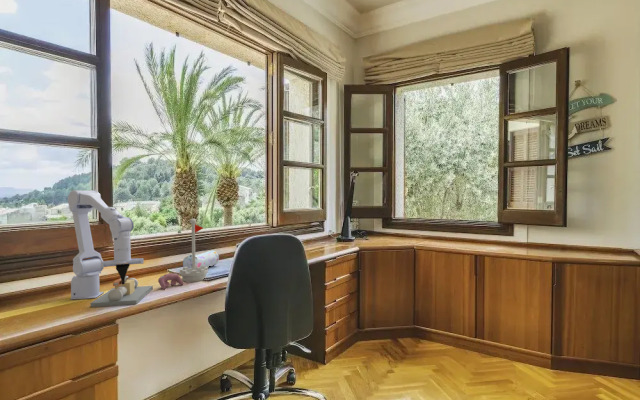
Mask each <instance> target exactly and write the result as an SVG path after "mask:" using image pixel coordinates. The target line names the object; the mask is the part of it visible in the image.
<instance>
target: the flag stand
mask: <svg viewBox="0 0 640 400" xmlns="http://www.w3.org/2000/svg"><path fill="white" fill-rule="evenodd" d="M189 223H190V224H191V255H192V268H189V269H188V267H183V266H182V268H180V269H179V276H180V277H182V278H181V279H182V281H183V282H186V283H187V282H188V283H189V282H190V283H193V282H199V281H203V279H204V278H205V277H207V273H209V267H206V266H201V268H197V266H196V262H195V255H196V233H198V232H199V231H201V230H203V229H204V227H202V226H200V225H197V219H195V218H191V219H190V220H189ZM204 280H205V279H204Z"/></svg>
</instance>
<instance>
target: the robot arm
mask: <svg viewBox="0 0 640 400" xmlns="http://www.w3.org/2000/svg"><path fill="white" fill-rule="evenodd" d="M101 196H102V195H101V193H99V191H98V190H97V189H93V190H90V189H88V190H85V189H84V190H83V189H82V190H80V189H78V190H77V189H73V190H71V191H70V192H69V193H68V197H67V202H68V208H69V212H71V213H72V219H73V225H74V230H75V236H76V242H77V248H78V253H77V254H76V255H75V256H74V258H72V264H73V265H72V272H73V274H74V276H73V277H72V278H71V281H70V299H69V300H84V299H85V300H86V299H97V298H99V297H100V296H102V295H103V294H105V293H104V291H100V274H101V273H102V271H103V270H104V267H105V268H106V267H115V269H116V271H117V273H118V275H119V277H120V278H121V280H122V284H125V276H127V273H128V270H129V268H130V266H131V265H139V264H140V265H143V264H144V263H145V262H144V258H143V257H142V258H141V257H140V258H132V256H131V255H132V251H131V245H132V244H131V232H132V231H133V229H134V225H135V224H134V221H133V219H132V218H131V217H129V216H128V217H127V216H124V215H123V214H121V213H120V211H119V210H117V209H116V208H115V207H114V206H109V205H107V204H106V203H105V201H104V200H103V199H102V197H101ZM93 209H95V210H97V211H98V213H100V218H101V219H102V220H103V221H105V223H107V225H109V230H110V232H111V238H112V239H113V259H112V260H103V257H102V254H101V253H100V252H98V251H96V250H95V248H94V242H93V237H92V231H91V226H90V221H89V215H88V214H89V212H91V211H92V210H93Z"/></svg>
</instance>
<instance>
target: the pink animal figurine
mask: <svg viewBox="0 0 640 400" xmlns="http://www.w3.org/2000/svg"><path fill="white" fill-rule="evenodd" d="M157 281H158V283H159V285H160V288H161V289H163V290H166V288H168V287H169V286H172V287H174V286H175V285H176V284H177V283H178V284H179V285H180V286H183V284H184V281H183V280H182V278H181V275H180V274H178V273H176V272H175V273H166V274H164V275H161V276H160V277H159V278H158V280H157ZM169 281H170V282H169Z"/></svg>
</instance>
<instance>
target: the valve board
mask: <svg viewBox="0 0 640 400" xmlns="http://www.w3.org/2000/svg"><path fill="white" fill-rule="evenodd" d="M138 281H139V280H138V279H136V278H135V277H129V278H128V279H126V280H125V284H121V285H120V286H114V287H113V288H111V289H110V290H108V291H107V292H105V293H102V294H101V295H99V296H98V297H96V298H95V299H94V300H92V301H91V302H90V305H89V307H90V308H96V307H97V308H98V307H99V308H100V307H113V306H115V307H116V306H130V305H132V306H133V305H138V303H140V301H142V300H143V299H144V298H145V297H146V296H147V295H148V294H149V293H150V292H152V291H153V289H154V288H153V285H145V286H143V285H142V286H139V282H138Z"/></svg>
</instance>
